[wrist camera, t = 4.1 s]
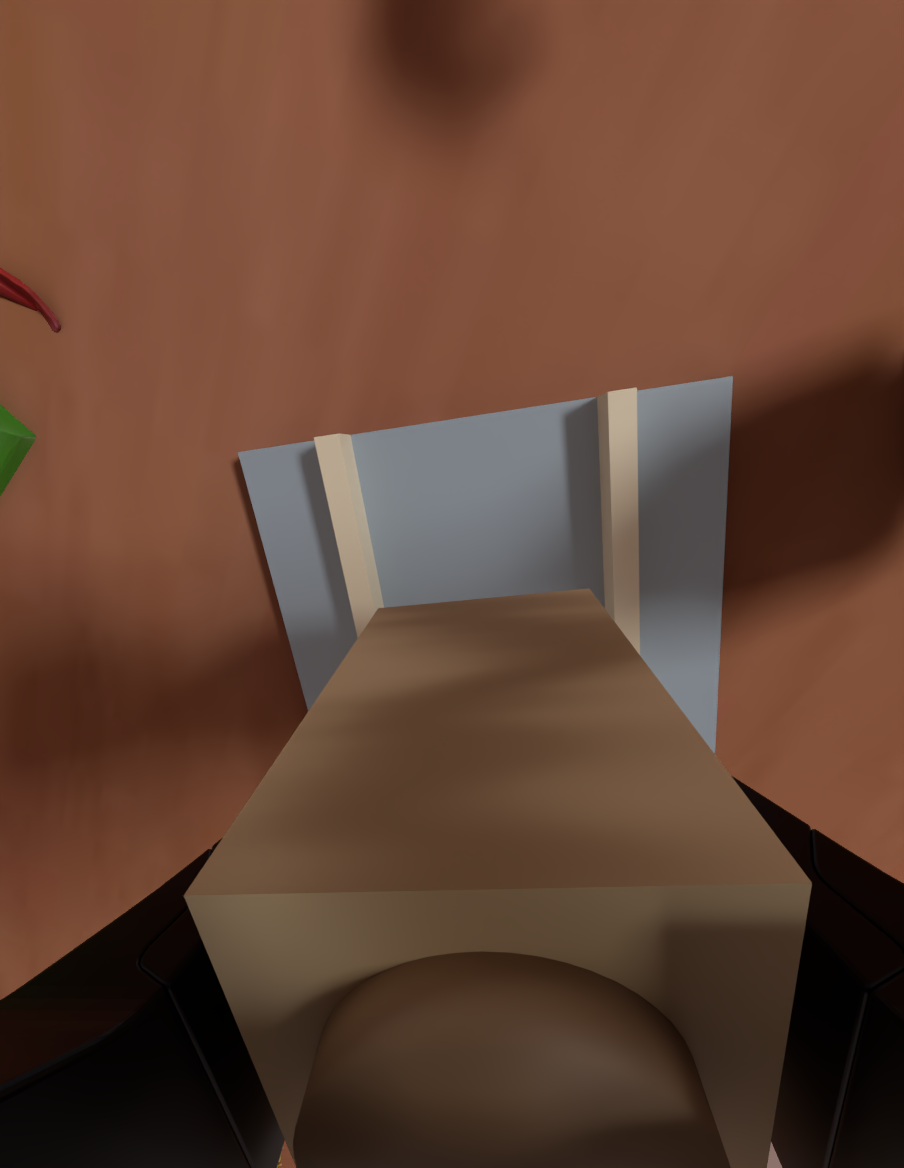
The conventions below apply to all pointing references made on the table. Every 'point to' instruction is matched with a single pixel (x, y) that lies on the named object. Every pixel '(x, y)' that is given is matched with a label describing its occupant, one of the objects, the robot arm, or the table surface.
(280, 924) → the stud block
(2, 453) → the toy garden set
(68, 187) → the table surface
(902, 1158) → the robot arm
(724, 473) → the keyhole board
